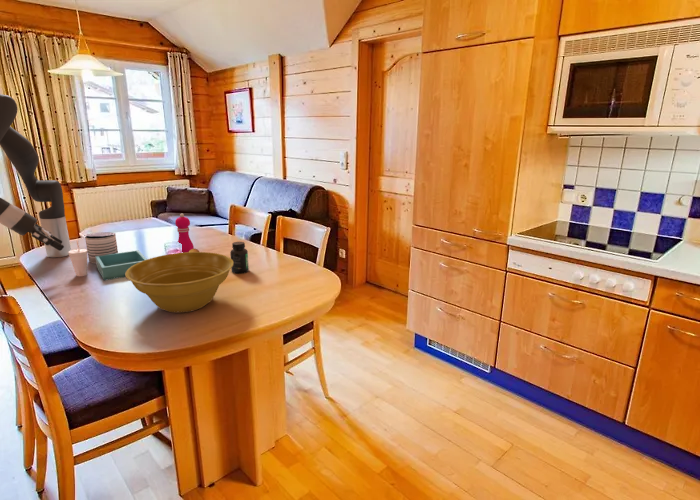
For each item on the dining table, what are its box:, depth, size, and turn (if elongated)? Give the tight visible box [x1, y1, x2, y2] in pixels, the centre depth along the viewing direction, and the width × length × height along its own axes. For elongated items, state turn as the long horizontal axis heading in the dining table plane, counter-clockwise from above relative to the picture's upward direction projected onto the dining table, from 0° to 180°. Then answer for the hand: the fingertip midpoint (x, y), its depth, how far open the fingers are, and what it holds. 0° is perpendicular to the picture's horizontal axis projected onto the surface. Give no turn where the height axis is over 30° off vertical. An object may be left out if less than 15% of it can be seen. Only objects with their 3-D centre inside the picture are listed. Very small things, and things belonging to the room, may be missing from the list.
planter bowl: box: [125, 251, 234, 313], centre depth 135 cm, size 32×32×13 cm
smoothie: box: [67, 239, 88, 277], centre depth 160 cm, size 6×6×14 cm
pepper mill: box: [174, 213, 195, 253], centre depth 183 cm, size 7×7×20 cm
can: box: [84, 231, 119, 265], centre depth 179 cm, size 11×11×12 cm
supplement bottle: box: [229, 241, 250, 275], centre depth 167 cm, size 7×7×12 cm
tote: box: [95, 249, 148, 281], centre depth 167 cm, size 18×16×5 cm
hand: (61, 246), depth 156 cm, fingers open, 8 cm apart
